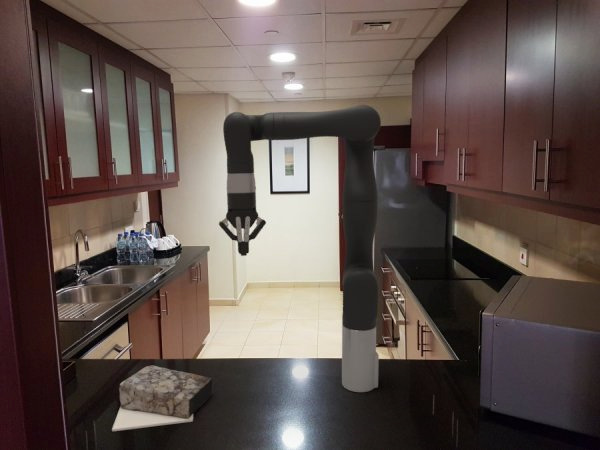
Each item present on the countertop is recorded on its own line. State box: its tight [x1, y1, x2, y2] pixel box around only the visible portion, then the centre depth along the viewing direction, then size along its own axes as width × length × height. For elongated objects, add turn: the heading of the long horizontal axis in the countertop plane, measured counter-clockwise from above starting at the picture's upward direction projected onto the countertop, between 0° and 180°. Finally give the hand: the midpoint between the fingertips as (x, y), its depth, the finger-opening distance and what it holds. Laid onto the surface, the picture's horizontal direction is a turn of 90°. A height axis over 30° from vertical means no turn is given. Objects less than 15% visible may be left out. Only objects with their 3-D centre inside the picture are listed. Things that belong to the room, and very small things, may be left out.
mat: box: [111, 405, 194, 432], centre depth 106 cm, size 18×11×1 cm, turn 102°
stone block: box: [118, 365, 215, 418], centre depth 110 cm, size 13×7×20 cm
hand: (243, 255), depth 115 cm, fingers closed
